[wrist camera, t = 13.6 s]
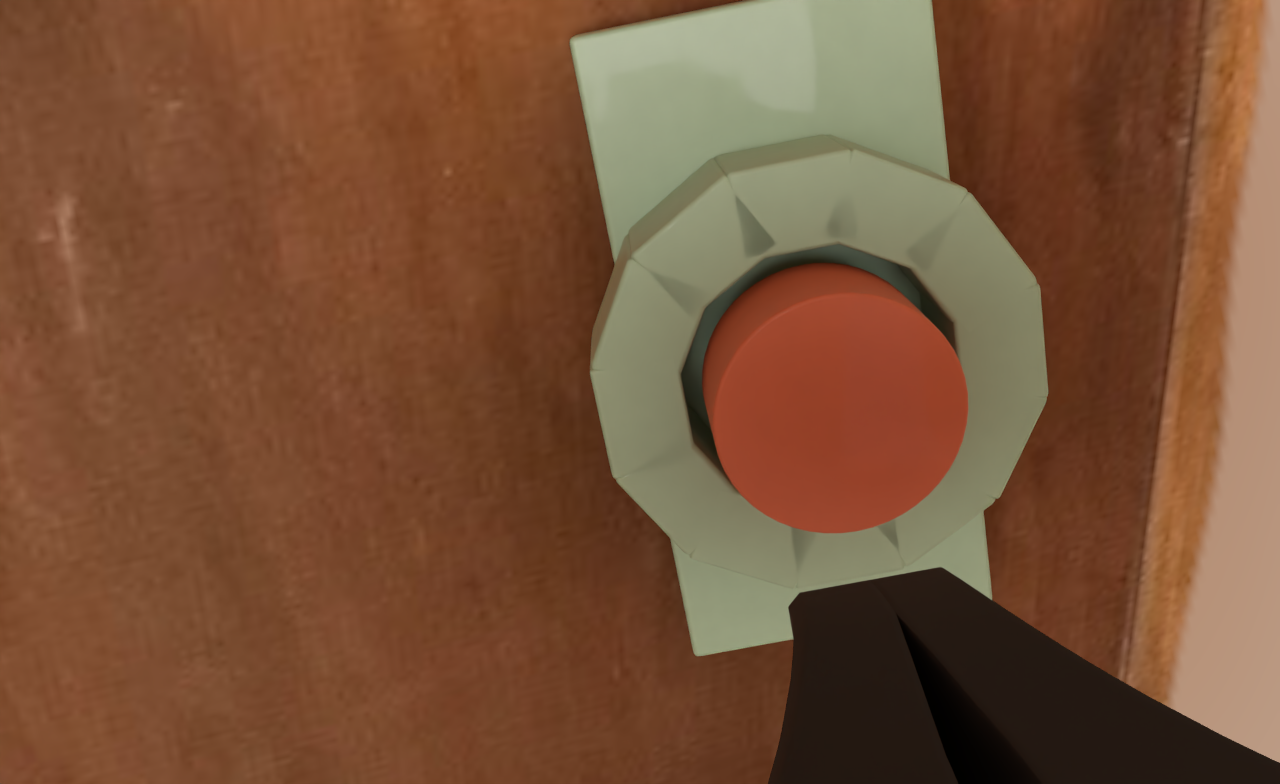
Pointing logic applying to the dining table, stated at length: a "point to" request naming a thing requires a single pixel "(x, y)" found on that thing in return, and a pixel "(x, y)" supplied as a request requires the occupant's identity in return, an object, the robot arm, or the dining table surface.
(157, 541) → the dining table surface
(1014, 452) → the button box
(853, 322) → the button
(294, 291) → the dining table surface
